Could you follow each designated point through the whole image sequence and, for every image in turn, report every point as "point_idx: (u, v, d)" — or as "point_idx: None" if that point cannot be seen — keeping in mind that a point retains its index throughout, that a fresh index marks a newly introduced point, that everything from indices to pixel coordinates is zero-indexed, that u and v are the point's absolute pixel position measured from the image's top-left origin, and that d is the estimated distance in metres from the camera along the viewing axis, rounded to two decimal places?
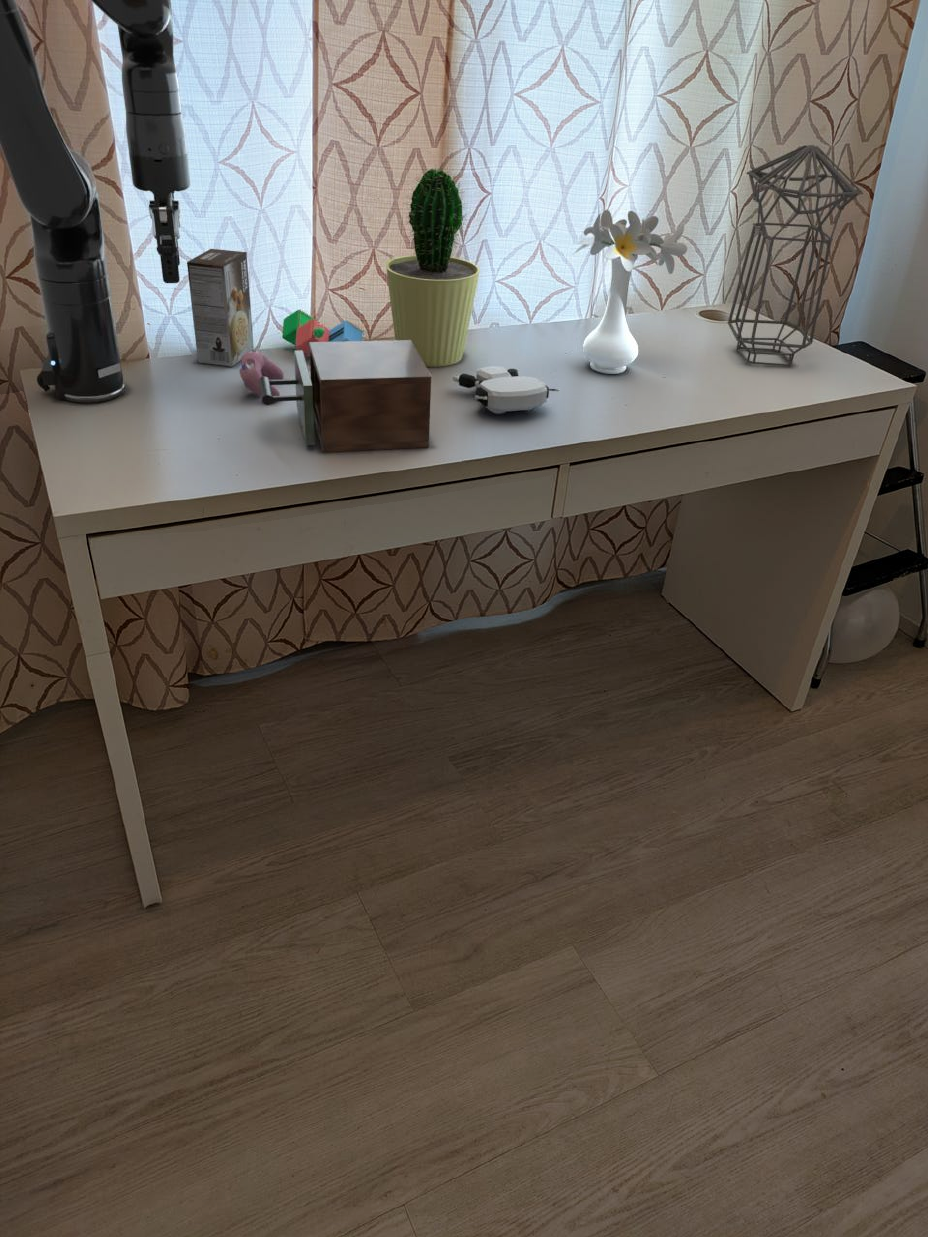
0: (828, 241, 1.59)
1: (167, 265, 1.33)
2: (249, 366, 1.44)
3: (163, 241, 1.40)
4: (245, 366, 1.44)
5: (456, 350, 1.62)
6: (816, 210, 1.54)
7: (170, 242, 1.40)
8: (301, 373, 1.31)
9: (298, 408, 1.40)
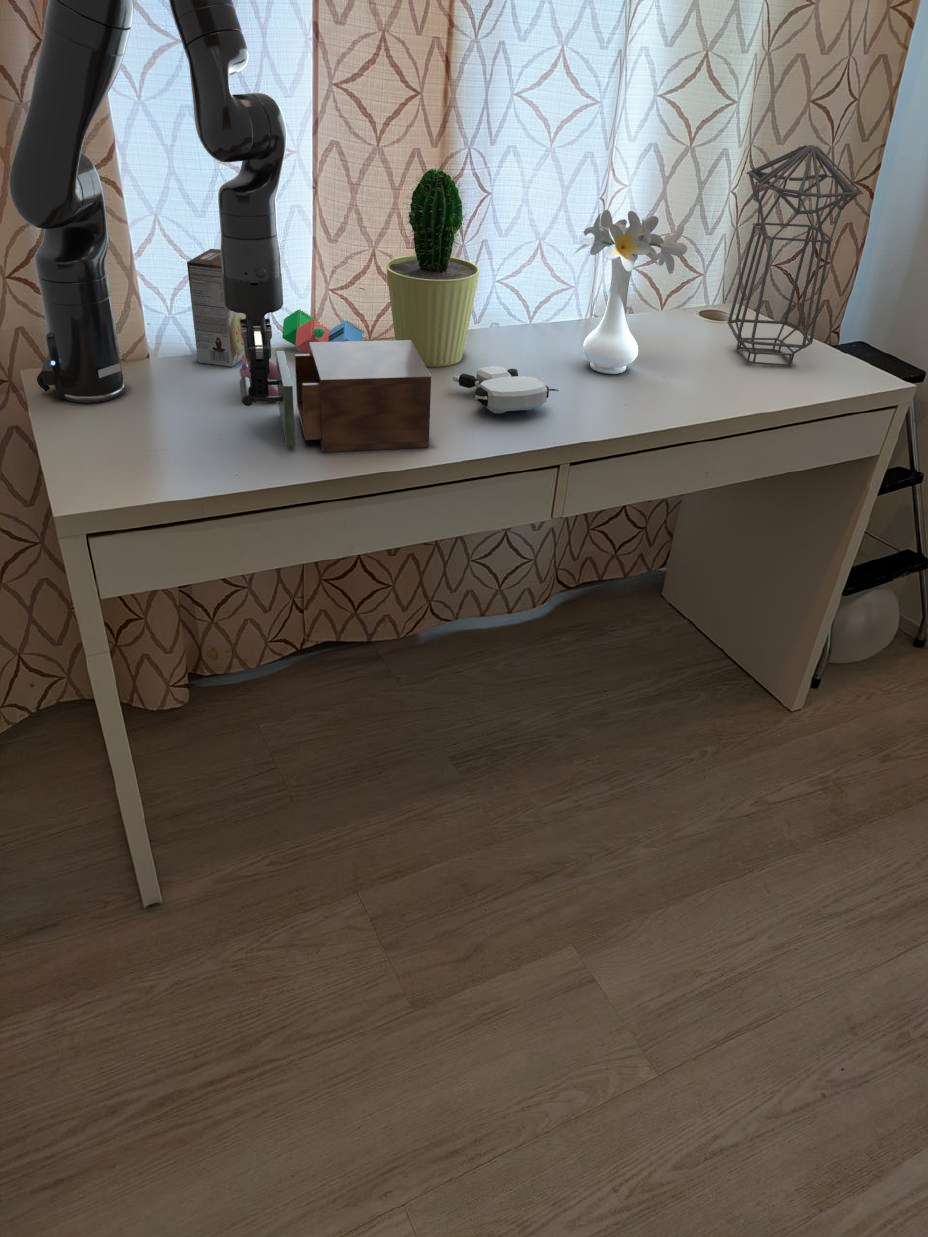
0: (828, 241, 1.59)
1: (258, 384, 1.31)
2: None
3: None
4: (245, 366, 1.44)
5: (456, 350, 1.62)
6: (816, 210, 1.54)
7: None
8: (281, 374, 1.30)
9: None
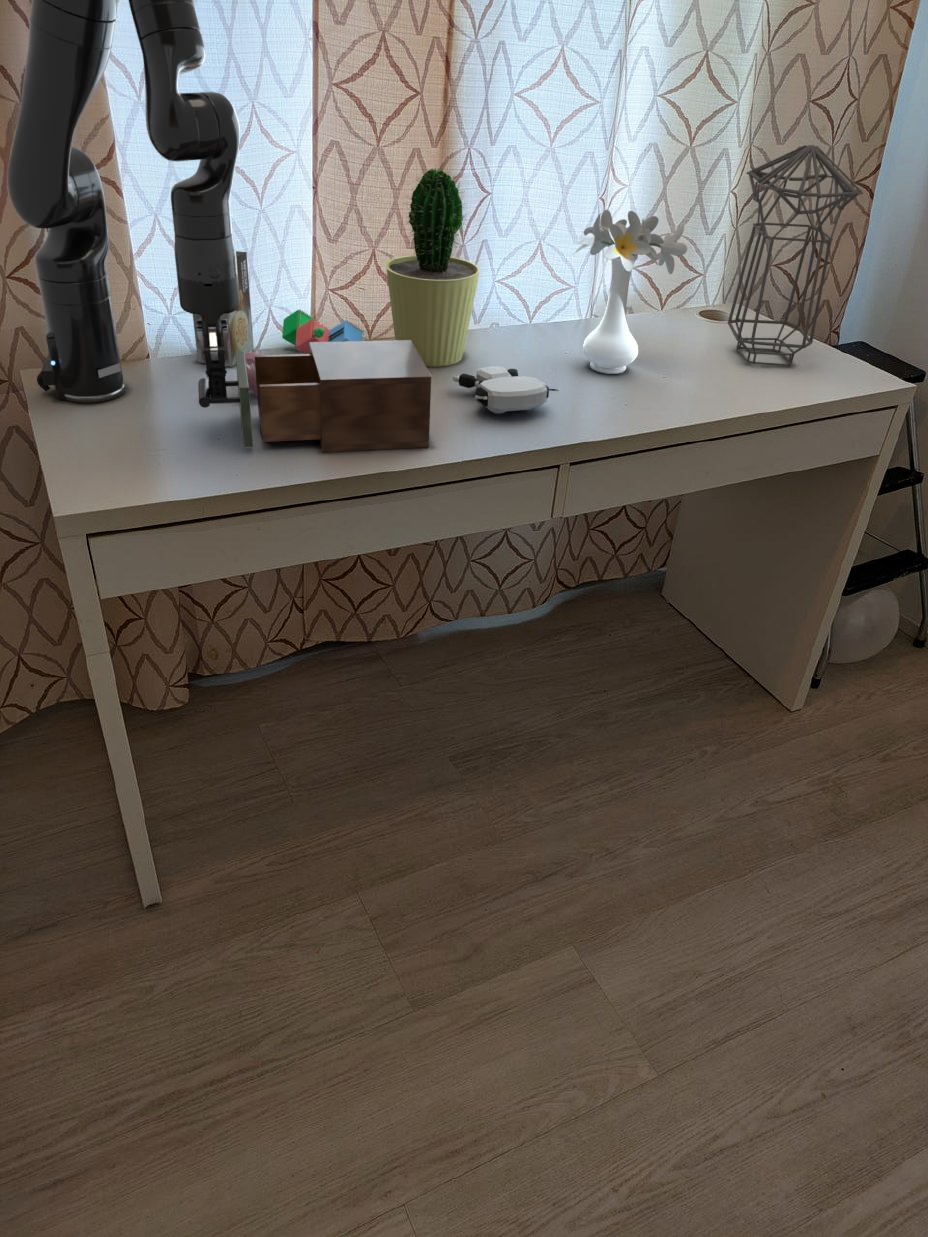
0: (828, 241, 1.59)
1: (215, 386, 1.30)
2: (249, 366, 1.44)
3: None
4: None
5: (456, 350, 1.62)
6: (816, 210, 1.54)
7: None
8: (239, 375, 1.29)
9: None
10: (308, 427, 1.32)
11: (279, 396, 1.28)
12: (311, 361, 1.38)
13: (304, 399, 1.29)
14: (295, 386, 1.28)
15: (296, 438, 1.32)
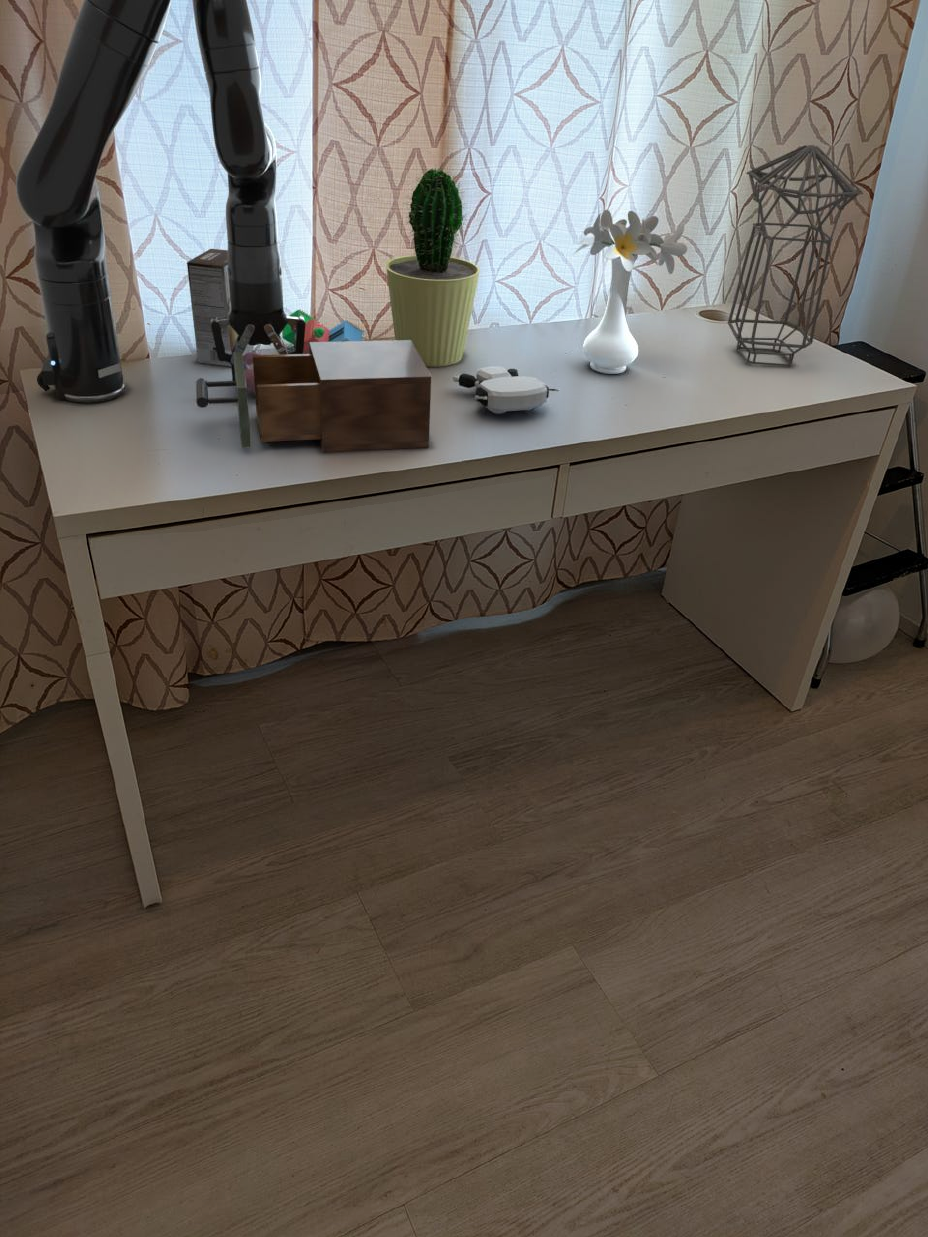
0: (828, 241, 1.59)
1: None
2: (249, 366, 1.44)
3: None
4: (245, 366, 1.44)
5: (456, 350, 1.62)
6: (816, 210, 1.54)
7: None
8: (237, 375, 1.29)
9: None
10: (306, 427, 1.31)
11: (277, 396, 1.28)
12: (309, 361, 1.38)
13: (302, 399, 1.29)
14: (293, 386, 1.28)
15: (294, 438, 1.32)
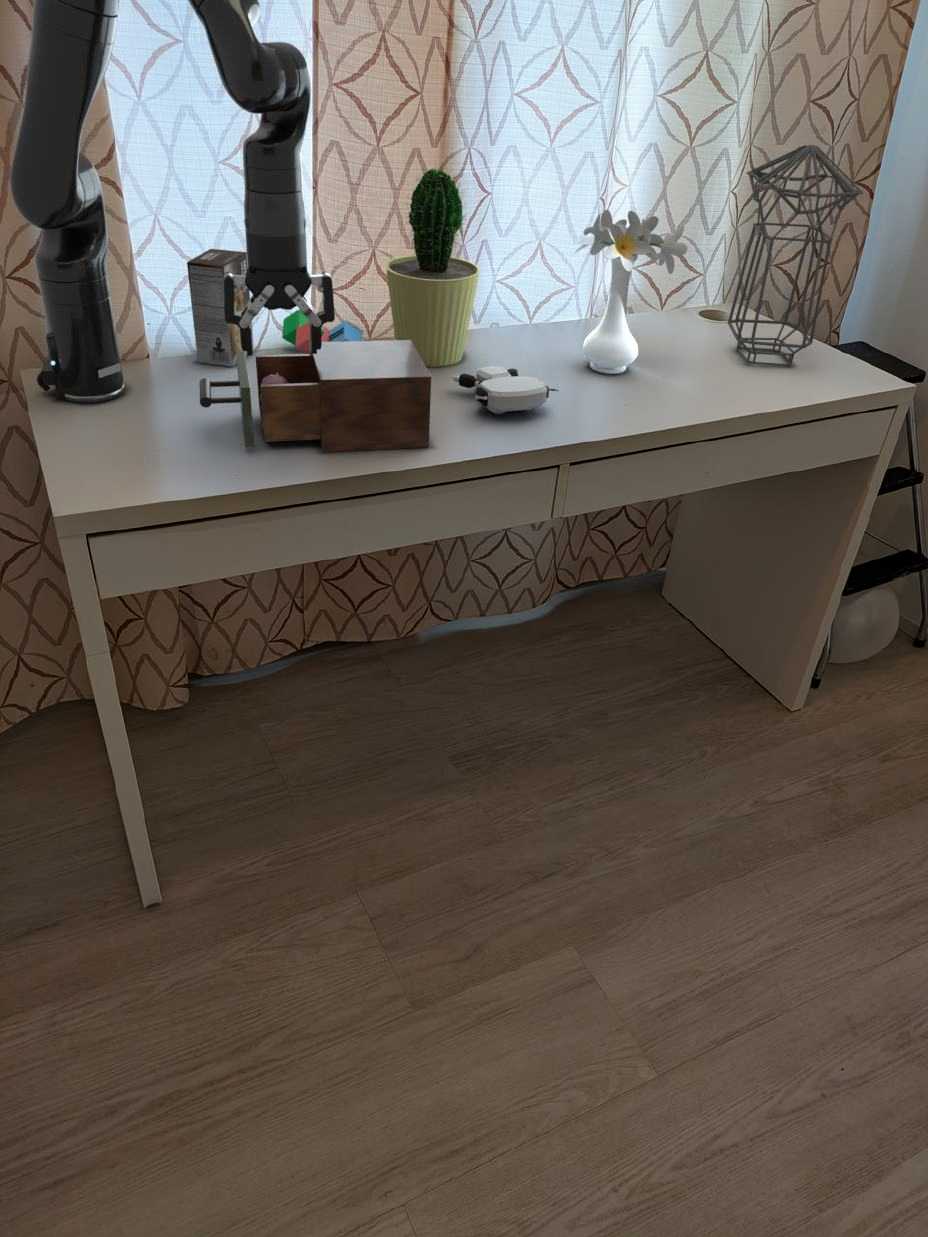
0: (828, 241, 1.59)
1: (240, 334, 1.29)
2: None
3: (309, 324, 1.31)
4: None
5: (456, 350, 1.62)
6: (816, 210, 1.54)
7: (310, 328, 1.30)
8: (240, 375, 1.29)
9: None
10: (309, 427, 1.32)
11: (280, 396, 1.28)
12: (312, 361, 1.38)
13: (306, 399, 1.29)
14: (296, 386, 1.28)
15: (297, 438, 1.32)
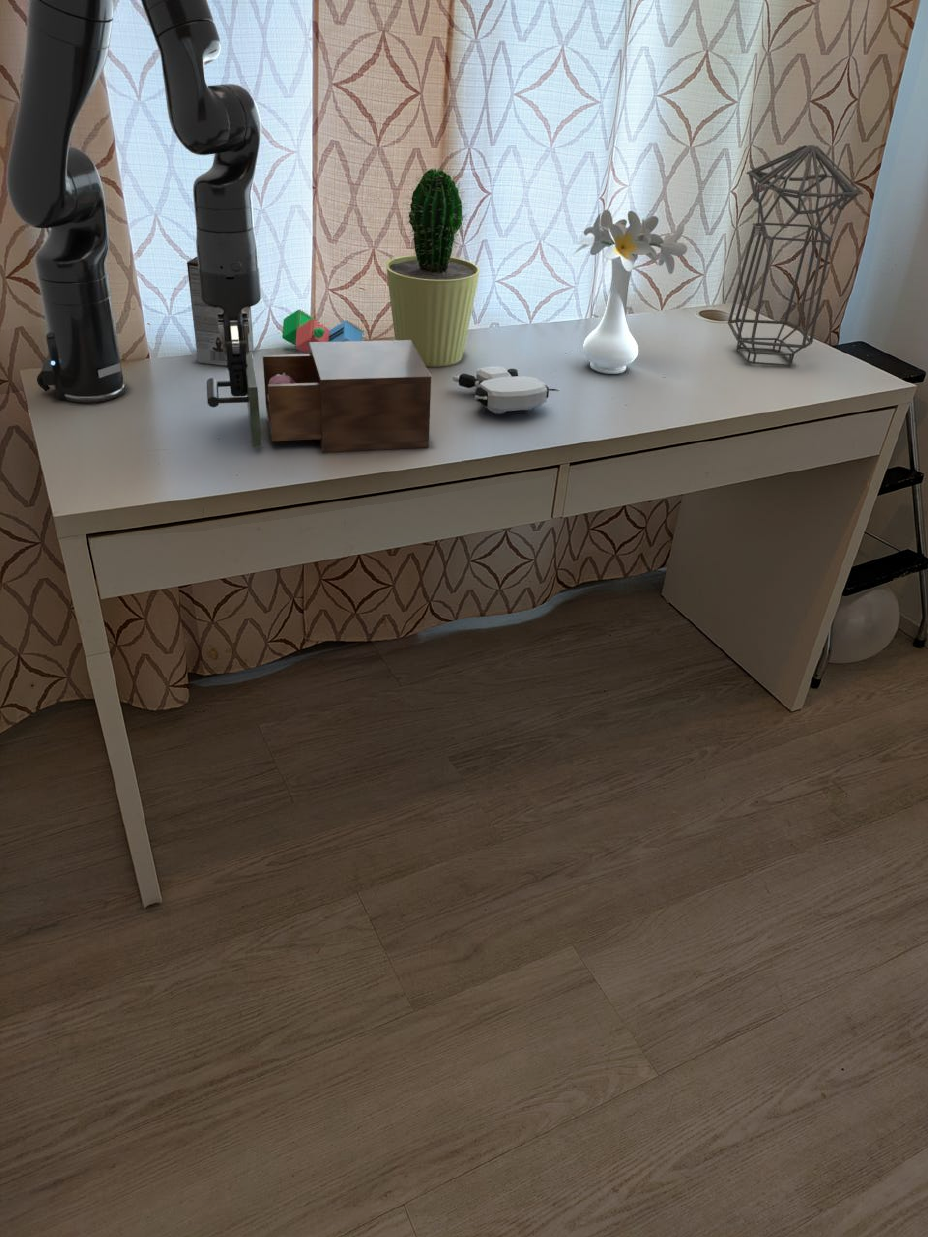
0: (828, 241, 1.59)
1: (236, 380, 1.30)
2: None
3: None
4: None
5: (456, 350, 1.62)
6: (816, 210, 1.54)
7: None
8: (247, 375, 1.29)
9: None
10: (316, 427, 1.32)
11: (288, 396, 1.28)
12: None
13: (313, 398, 1.29)
14: (304, 386, 1.28)
15: (304, 437, 1.32)
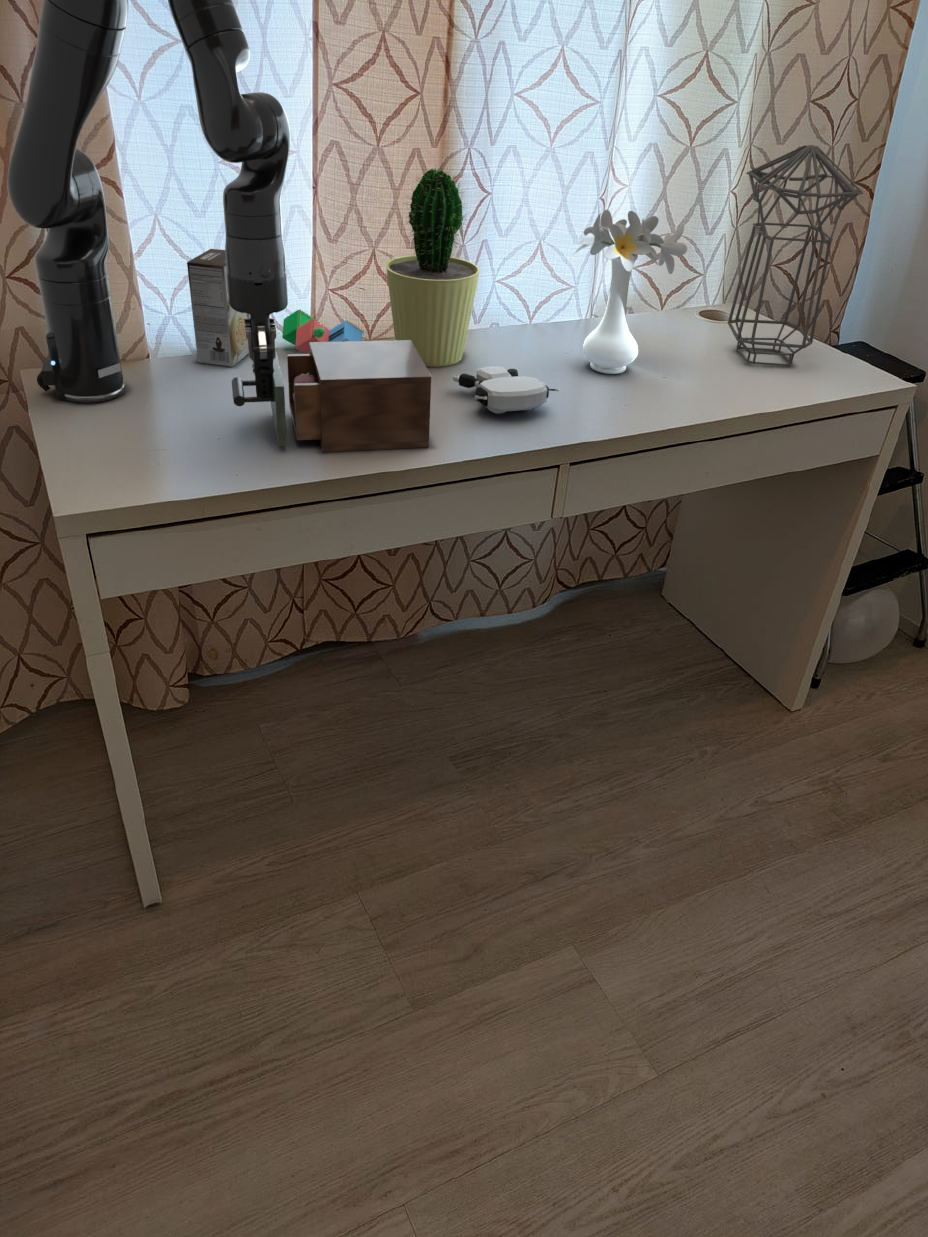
0: (828, 241, 1.59)
1: (262, 384, 1.31)
2: None
3: None
4: None
5: (456, 350, 1.62)
6: (816, 210, 1.54)
7: None
8: (273, 374, 1.30)
9: (272, 409, 1.39)
10: None
11: (313, 395, 1.29)
12: None
13: None
14: None
15: None
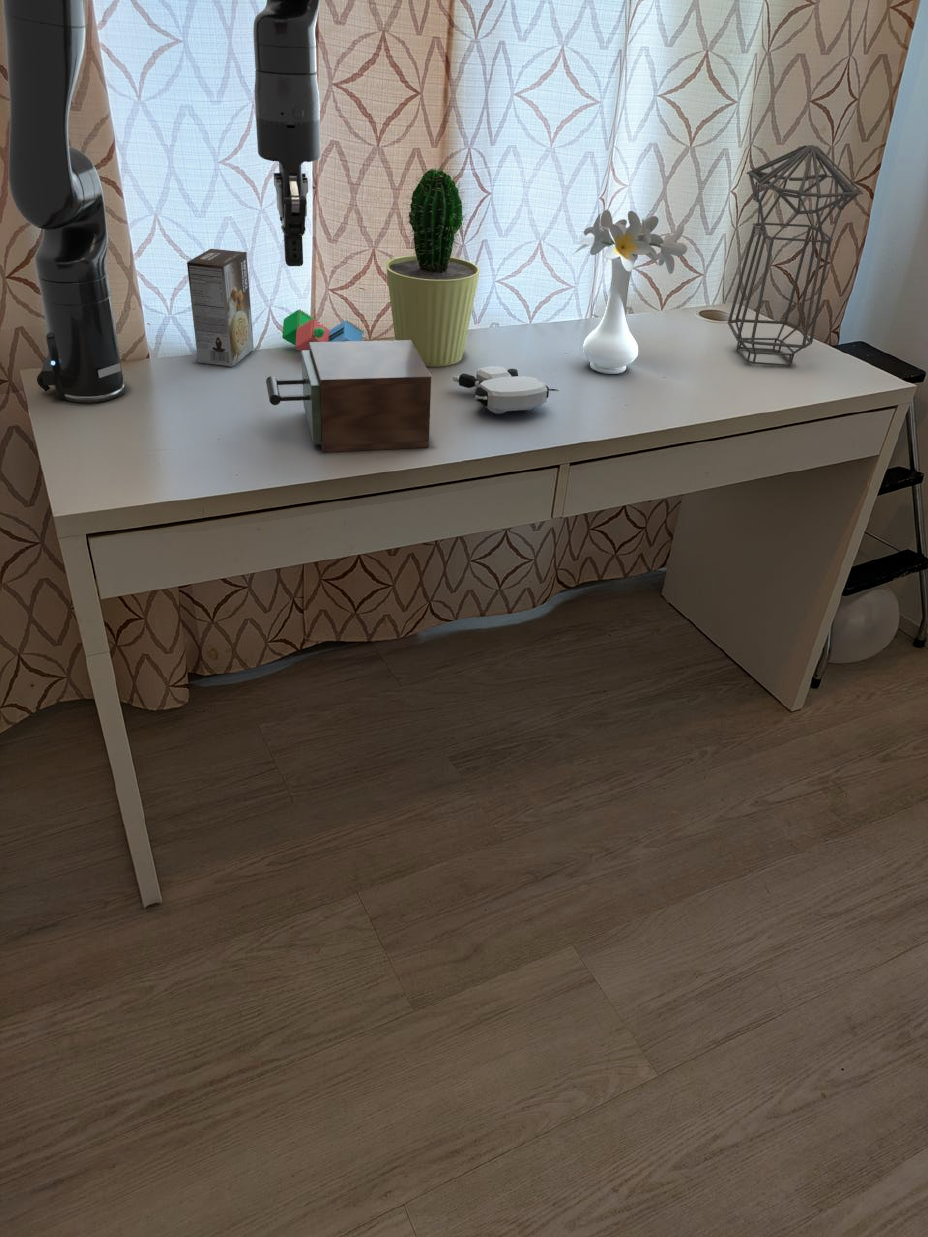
0: (828, 241, 1.59)
1: (292, 246, 1.22)
2: None
3: None
4: None
5: (456, 350, 1.62)
6: (816, 210, 1.54)
7: None
8: (308, 373, 1.31)
9: (305, 408, 1.40)
10: None
11: None
12: None
13: None
14: None
15: None
